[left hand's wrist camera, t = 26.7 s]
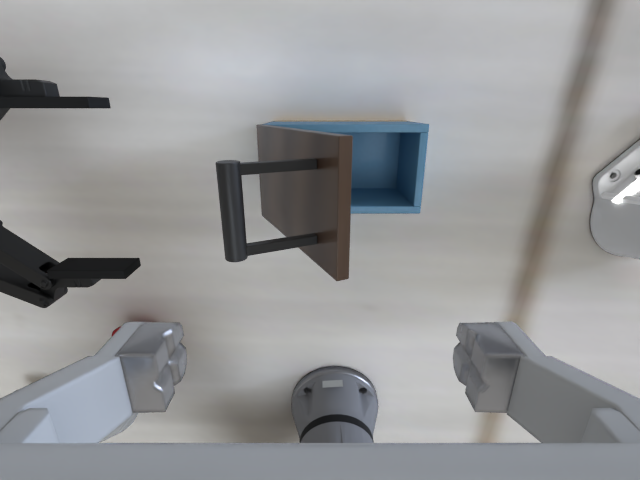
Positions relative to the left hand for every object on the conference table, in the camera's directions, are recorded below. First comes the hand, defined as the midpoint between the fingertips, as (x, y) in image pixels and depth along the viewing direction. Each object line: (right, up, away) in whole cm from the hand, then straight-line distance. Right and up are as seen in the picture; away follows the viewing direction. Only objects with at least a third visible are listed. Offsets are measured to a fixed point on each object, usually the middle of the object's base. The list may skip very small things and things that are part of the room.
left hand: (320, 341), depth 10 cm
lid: (-2, +8, +21) cm, 22 cm away
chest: (+3, +14, +39) cm, 41 cm away
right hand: (-16, +7, +18) cm, 26 cm away
